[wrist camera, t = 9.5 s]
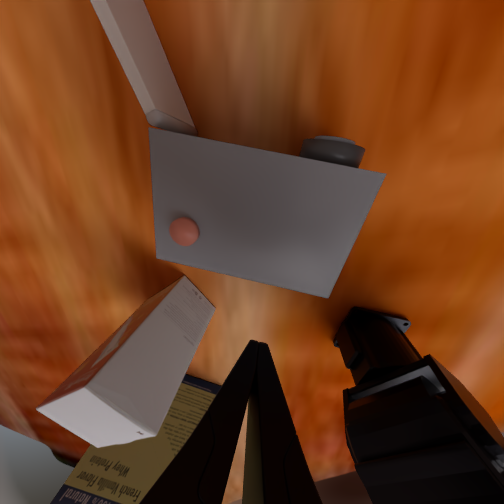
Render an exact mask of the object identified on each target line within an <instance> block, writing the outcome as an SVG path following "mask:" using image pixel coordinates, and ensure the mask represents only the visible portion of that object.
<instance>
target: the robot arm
mask: <svg viewBox="0 0 504 504" xmlns="http://www.w3.org/2000/svg"><path fill="white" fill-rule="evenodd" d="M355 311H357V312H355ZM410 325H411V322H410V321H409V320H408V319H406V318H402V317H398V316H393V315H389V314H385V313H381V312H376V311H372V310H368V309H364V308H359V307H353V308H352V309H351V310H350V312H349V314H348V316H347V317H346V319H345V321H344V322H343V323H342V325H341V327H340V329H339V330H338V332H337V334H336V337H335V339H334V341H333V343H334V346H335V347H338V348H340V351H341V354H342V357H343V360H344V363H345V366H346V367H347V368H348V369H350V370H351V373H352V376H353V379H354V382H355V385H356V386H355V387H352V388H350V389H348V388H347V389H344V390H343V403H344V419H345V433H346V440H347V446H348V448H349V450H350V453H351V456H352V458H353V461H354V463H355V469H356V471H357V473H358V475H359V477H360V478H361V480H362V482H363V484H364V486H365V487H366V490H367V492H368V494H369V496H370V499H371V501H372V503H373V504H504V437H503V435H502V434H501V432H500V431H499V429H498V428H497V426H496V425H495V423H494V422H493V420H492V419H491V417H490V415H489V414H488V413H487V412H486V410H485V409H484V408H483V407H482V406H481V405H480V404H479V402H478V401H477V400H476V399H475V398H474V397H473V396H472V394H471V393H470V392H469V391H468V390H467V389H466V388H465V386H464V385H463V384H462V383H461V382H460V381H459V380H458V379H457V378H456V377H455V376H453V375H452V374H451V373H450V372H449V371H448V370H447V369H446V368H445V367H443V366H442V365H441V364H440V363H439V362H438V361H437V360H436V359H435V358H433V357H432V356H431V355H430V354H429V355H426V356H424V358H422V357H421V356H420V354H419V353H418V351H417V350H416V349H415V347H414V346H413V345H412V343H411V342H410V341H409V339H408V338H407V337H406V335H405V334H404V333H405V332H406V330H407V329H408V328H409V327H410ZM248 399H249V400H248ZM247 403H248V416H247V433H246V449H245V465H244V481H243V497H242V504H322V501H321V499H320V496H319V494H318V491H317V489H316V486H315V484H314V481H313V479H312V476H311V474H310V471H309V468H308V465H307V462H306V460H305V457H304V454H303V451H302V448H301V445H300V442H299V439H298V436H297V435H296V430H295V427H294V424H293V421H292V418H291V414H290V411H289V408H288V405H287V402H286V399H285V396H284V393H283V390H282V387H281V384H280V381H279V377H278V374H277V371H276V368H275V365H274V362H273V359H272V356H271V353H270V350H269V347H268V344H267V343H263V342H258V341H255V340H250V341H249V343H248V344H247V346H246V348H245V349H244V351H243V352H242V354H241V356H240V357H239V359H238V361H237V362H236V364H235V365H234V367H233V369H232V370H231V372H230V373H229V375H228V377H227V378H226V380H225V382H224V383H223V385H222V386H221V388H220V390H219V391H218V393H217V394H216V396H215V398H214V399H213V401H212V403H211V404H210V406H209V407H208V410H207V411H206V412H205V414H204V415H203V417H202V419H201V420H200V422H199V423H198V425H197V426H196V428H195V429H194V431H193V432H192V434H191V435H190V437H189V438H188V440H187V441H186V442H185V444H184V445H183V446H182V448H181V449H180V451H179V452H178V453H177V455H176V456H175V457H174V459H173V460H172V461H171V462H170V464H169V465H168V466H167V468H166V469H165V470H164V472H163V473H162V474H161V475H160V477H159V478H158V479H157V481H156V482H155V483H154V485H153V486H152V487H151V489H150V490H149V491H148V492H147V494H146V495H145V496H144V498H143V499H142V500H141V501H140V503H139V504H222V500H223V496H224V492H225V488H226V485H227V481H228V477H229V473H230V469H231V465H232V461H233V457H234V453H235V450H236V446H237V442H238V438H239V434H240V430H241V426H242V422H243V418H244V415H245V411H246V407H247Z"/></svg>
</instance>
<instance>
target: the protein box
mask: <svg viewBox="0 0 504 504" xmlns="http://www.w3.org/2000/svg"><path fill="white" fill-rule="evenodd" d="M220 388H221V386H219V385H216V384H213V383H210V382H207V381H204V380H201V379H198V378H195V377H192V376H189V375H186V374H185V376H184V378H183V380H182V382H181V384H180V386H179V388H178V391H177V393H176V395H175V397H174V399H173V401H172V403H171V406H170V408H169V410H168V412H167V414H166V416H165V419H164V421H163V423H162V425H161V427H160V429H159V431H158V433H157V435H156V436H155V437H149V438H144V439H140V440H135V441H132V442H130V443H126V444H115V445H110V446H104V447H100V448H97V447H95V446H94V445H92V444H91V445H90V447H89V448H88V450H87V451H86V452H85V454H84V455H83V457H82V458H81V460H80V461H79V463H78V464H77V465H76V467H75V468H74V470H73V471H72V473H71V474H70V476H69V477H68V479H67V480H66V482H65V483H64V484H63V486H62V487H61V489H60V490H59V492H58V493H57V495H56V496H55V497H54V499H53V500H52V502H51V503H50V504H139V503H140V501H141V500H142V499H143V498H144V496H145V495H146V494H147V492H148V491H149V490H150V489H151V487H152V486H153V485H154V483H155V482H156V481H157V479H158V478H159V477H160V475H161V474H162V473H163V472H164V470H165V469H166V468H167V466H168V465H169V464H170V462H171V461H172V460H173V459H174V457H175V456H176V455H177V453H178V452H179V451H180V449H181V448H182V446H183V445H184V444H185V442H186V441H187V440H188V438H189V437H190V435H191V434H192V432H193V431H194V429H195V428H196V426H197V425H198V423H199V422H200V420H201V419H202V417H203V415H204V414H205V412H206V411H207V410H208V407H209V406H210V404H211V403H212V401H213V399H214V398H215V396H216V394H217V393H218V391H219V390H220Z"/></svg>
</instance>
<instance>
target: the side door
mask: <svg viewBox="0 0 504 504" xmlns="http://www.w3.org/2000/svg"><path fill="white" fill-rule="evenodd" d="M90 1H91V3H92V5H93V7H94V10H95V12H96V14H97V16H98V18H99V20H100V22H101V24H102V26H103V28H104V30H105V32H106V34H107V36H108V38H109V41H110V43H111V45H112V47H113V49H114V51H115V53H116V55H117V57H118V59H119V61H120V63H121V65H122V67H123V70H124V72H125V74H126V76H127V78H128V80H129V82H130V84H131V86H132V88H133V90H134V92H135V94H136V96H137V98H138V101H139V103H140V105H141V107H142V109H143V111H144V113H145V115H146V118H147V121H148V122H149V124H150V125H152V126H155V127H158V128H161V129H164V130H167V131H170V132H175V133H180V134H185V135H190V136H195V137H197V134H198V133H197V130H196V128H195V126H194V124H193V121H192V119H191V116H190V114H189V111H188V109H187V106H186V104H185V102H184V99H183V97H182V94H181V92H180V89H179V87H178V84H177V82H176V79H175V77H174V75H173V72H172V70H171V67H170V65H169V62H168V60H167V57H166V55H165V52H164V50H163V48H162V45H161V43H160V40H159V38H158V35H157V33H156V30H155V28H154V25H153V23H152V21H151V18H150V16H149V13H148V11H147V8H146V6H145V3H144V1H143V0H90Z"/></svg>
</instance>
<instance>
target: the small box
mask: <svg viewBox="0 0 504 504" xmlns="http://www.w3.org/2000/svg"><path fill="white" fill-rule="evenodd" d="M214 311H215V307H214V306H213V305H212V304H211V303H210V302H209V301H208V300H207V299H206V298H205V296H204V295H203V294H202V293H201V292H200V291H199V290H198V289H197V288H196V287H195V286H194V285H193V284H192V283H191V281H190V280H189V279H188V278H187V277H186V276H182V277H181V278H180V279H178V280H177V281H175V282H174V283H173V284H171V285H169V286H168V287H166V288H165V289H163V290H162V291H160V292H159V293H157V294H156V295H154V296H152V297H151V298H149V299H148V300H146V301H145V302H144V303H143V304H142V305H141V306H140V307H139V308H138V309H137V310H136V311H135V312H134V313H133V314H132V315H131V316H130V317H129V318H128V319H127V320H126V321H125V322H124V323H123V324H122V325H121V326H120V327H119V328H118V329H117V330H116V331H115V332H114V333H113V334H112V335H111V336H110V337H109V338H108V339H107V340H106V341H105V342H104V343H103V344H102V345H101V346H100V347H99V348H98V349H97V350H95V351H94V352H93V353H92V354H91V355H90V356H89V357H88V358H87V359H86V360H85V361H84V362H83V363H82V364H81V365H80V366H79V367H78V368H77V369H76V370H75V371H74V372H73V373H72V374H71V375H70V376H69V377H68V378H67V379H66V380H65V381H64V382H63V383H62V384H61V385H60V386H59V387H58V388H57V389H56V390H55V391H54V392H53V393H52V394H51V395H49V396H48V397H47V398H46V399H45V400H44V401H43V402H42V403H41V404H40V405H39V406H38V407H37V408H36V410H38V411H39V412H41V413H42V414H44V415H45V416H47V417H48V418H50V419H52V420H53V421H55V422H57V423H58V424H60V425H61V426H63V427H65V428H66V429H68V430H69V431H71V432H72V433H74V434H76V435H77V436H79V437H81V438H82V439H84V440H86V441H87V442H89V443H90V444H92V445H94V446H95V447H97V448H100V447H104V446H110V445H115V444H126V443H130V442H132V441H135V440H140V439H144V438H149V437H155V436H156V435H157V433H158V431H159V429H160V427H161V425H162V423H163V421H164V419H165V416H166V414H167V412H168V410H169V408H170V406H171V403H172V401H173V399H174V397H175V395H176V393H177V391H178V388H179V386H180V384H181V382H182V380H183V378H184V376H185V373H186V371H187V369H188V367H189V365H190V363H191V361H192V358H193V356H194V354H195V352H196V350H197V347H198V345H199V343H200V341H201V339H202V337H203V335H204V332H205V330H206V328H207V326H208V324H209V322H210V320H211V318H212V316H213V313H214Z"/></svg>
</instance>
